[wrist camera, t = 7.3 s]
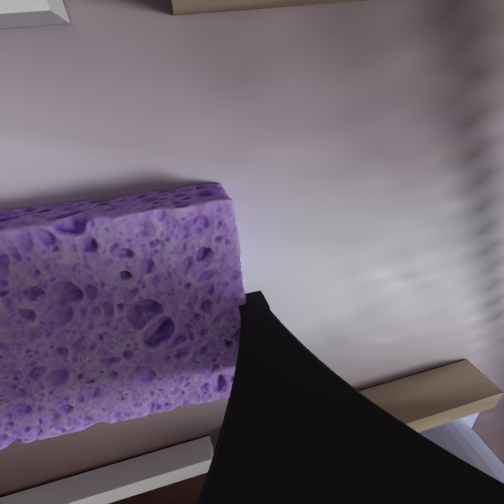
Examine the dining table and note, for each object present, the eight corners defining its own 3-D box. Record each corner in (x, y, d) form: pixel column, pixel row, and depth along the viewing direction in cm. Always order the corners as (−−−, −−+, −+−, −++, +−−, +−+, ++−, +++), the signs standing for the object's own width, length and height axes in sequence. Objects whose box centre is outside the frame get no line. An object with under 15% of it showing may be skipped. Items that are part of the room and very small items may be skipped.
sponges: (246, 350, 11) (257, 392, 10) (-129, 437, 9) (-193, 509, 8) (225, 175, 8) (238, 196, 6) (-385, 252, 6) (-602, 314, 4)
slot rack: (460, 373, 16) (494, 407, 14) (253, 436, 14) (263, 483, 12) (655, -86, 7) (812, -146, 5) (157, -69, 5) (148, -149, 3)
